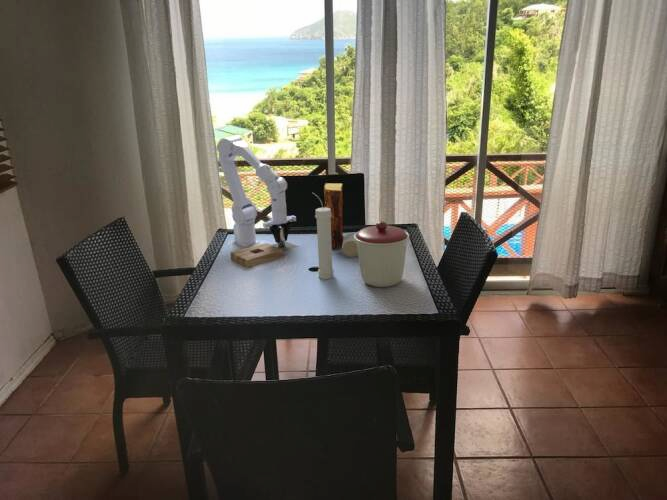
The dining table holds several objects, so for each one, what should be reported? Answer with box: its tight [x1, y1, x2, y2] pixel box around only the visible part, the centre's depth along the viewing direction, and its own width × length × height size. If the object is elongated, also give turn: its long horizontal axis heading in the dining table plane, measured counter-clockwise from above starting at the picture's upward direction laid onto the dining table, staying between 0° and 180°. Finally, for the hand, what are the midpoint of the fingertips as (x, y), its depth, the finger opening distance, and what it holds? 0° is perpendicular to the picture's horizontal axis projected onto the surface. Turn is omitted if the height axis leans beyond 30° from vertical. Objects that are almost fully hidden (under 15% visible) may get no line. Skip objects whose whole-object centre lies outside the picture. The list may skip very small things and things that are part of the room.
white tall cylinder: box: [312, 192, 335, 280], centre depth 188 cm, size 6×6×30 cm
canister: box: [354, 220, 410, 288], centre depth 183 cm, size 18×18×21 cm
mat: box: [271, 241, 300, 252], centre depth 224 cm, size 10×10×1 cm
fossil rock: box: [323, 182, 345, 250], centre depth 223 cm, size 24×8×24 cm, turn 176°
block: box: [230, 242, 284, 269], centre depth 212 cm, size 12×16×3 cm
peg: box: [278, 226, 285, 248], centre depth 223 cm, size 3×3×8 cm
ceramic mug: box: [341, 232, 358, 259], centre depth 211 cm, size 11×8×8 cm
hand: (281, 241), depth 223 cm, fingers closed on peg, 3 cm apart
